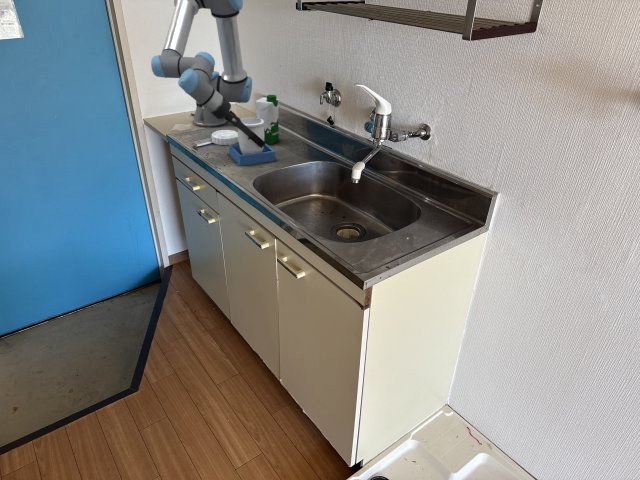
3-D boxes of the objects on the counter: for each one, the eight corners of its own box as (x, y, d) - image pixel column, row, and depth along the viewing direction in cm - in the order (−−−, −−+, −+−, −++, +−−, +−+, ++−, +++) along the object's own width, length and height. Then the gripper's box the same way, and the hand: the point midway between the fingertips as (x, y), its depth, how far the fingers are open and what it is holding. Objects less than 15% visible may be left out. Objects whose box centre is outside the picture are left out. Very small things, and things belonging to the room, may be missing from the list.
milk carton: (272, 145, 203) (271, 98, 193) (254, 142, 206) (252, 96, 196) (281, 140, 210) (281, 94, 200) (263, 137, 213) (262, 91, 203)
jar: (260, 163, 184) (259, 126, 177) (235, 160, 186) (233, 123, 179) (268, 154, 194) (267, 118, 186) (244, 152, 195) (242, 116, 188)
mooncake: (228, 147, 199) (228, 139, 198) (206, 142, 204) (205, 134, 202) (245, 139, 209) (244, 131, 207) (223, 135, 213) (222, 127, 211)
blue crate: (229, 154, 192) (228, 145, 190) (263, 150, 198) (262, 140, 196) (240, 166, 182) (239, 156, 180) (275, 161, 188) (275, 151, 186)
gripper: (202, 105, 183) (243, 139, 197) (219, 121, 165) (262, 157, 179) (214, 90, 182) (254, 125, 196) (232, 104, 164) (275, 142, 179)
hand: (258, 141), depth 188 cm, fingers closed on jar, 10 cm apart
